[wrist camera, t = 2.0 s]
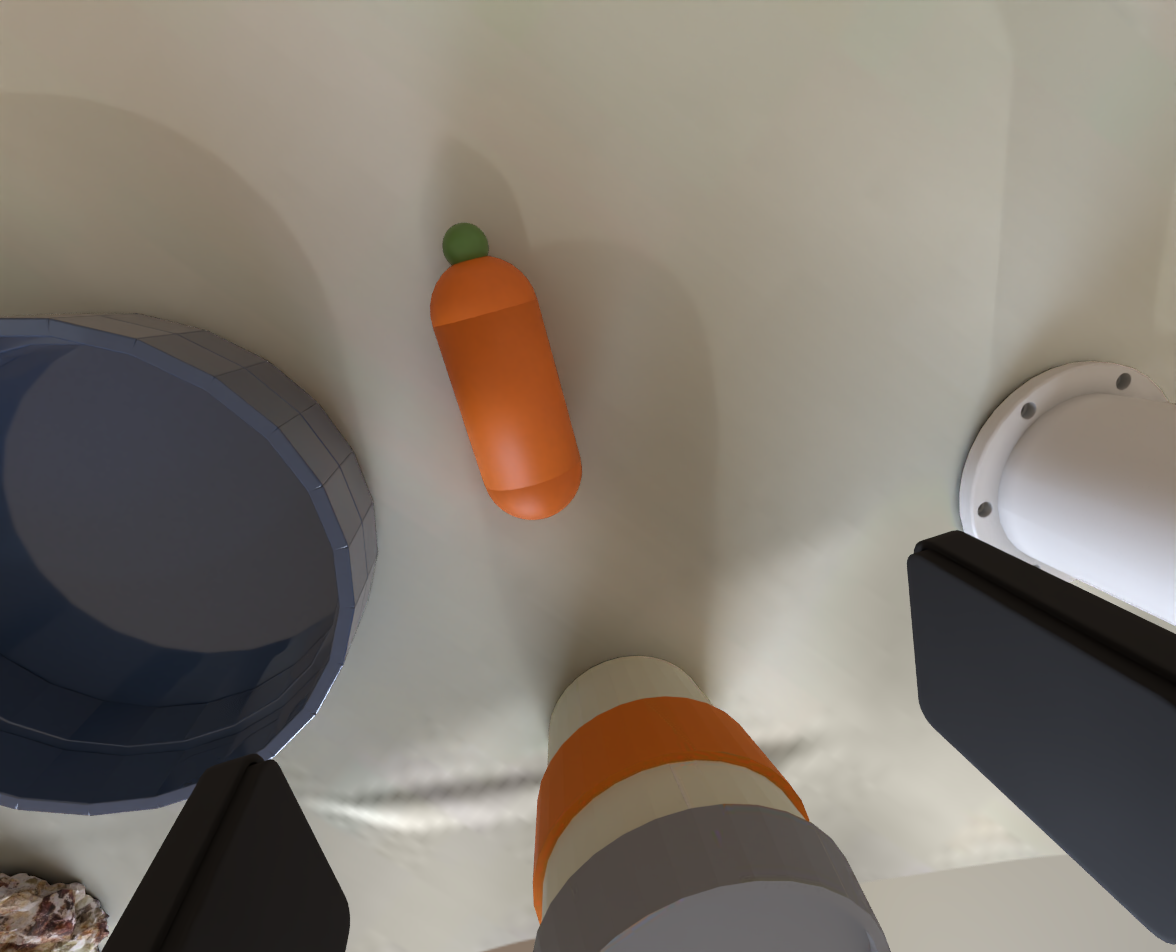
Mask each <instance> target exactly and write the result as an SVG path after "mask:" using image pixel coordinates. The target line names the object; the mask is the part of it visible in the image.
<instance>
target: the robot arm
mask: <svg viewBox="0 0 1176 952" xmlns="http://www.w3.org/2000/svg"><path fill="white" fill-rule="evenodd" d="M959 505H960V517H961V521H962V526H963V530H964V532H962V531H958V530H956V531H951V532H947V533H944V534H941V535H938V536H935V537H932V538H929V539H925V540H922V541H920V542H918V543H917V544H916V546H915V549H914V554H911V555H910V556H909V557H908V560H907V571H908V583H909V595H910V606H911V618H912V629H913V641H914V652H915V664H916V676H917V687H918V699H919V704H920V707H921V710H922V712H923V714H924V716H925V718H926V719H927V721H928V722H929V723H930V724H931V726H932V727H933V728H934V729H935V730H936V731H937V732H939V733H940V734H941V735H942V736H943V737H944V738H945V739H946V740H947V741H948V742H949V743H950V744H951V745H952V746H953V747H954V748H956V749H957V750H958V751H959V752H960V753H961V754H962V755H963V756H964V757H965V758H966V759H967V760H968V761H969V762H970V763H971V764H973V765H974V766H975V767H976V768H977V769H978V770H979V771H980V772H981V773H982V774H983V775H984V776H985V777H986V778H987V779H989V780H990V781H991V782H992V783H993V784H994V785H995V786H996V787H997V788H998V789H999V790H1000V791H1001V792H1002V793H1003V794H1004V795H1006V796H1007V797H1008V798H1009V799H1010V800H1011V801H1012V802H1013V803H1014V804H1015V805H1016V806H1017V807H1018V808H1019V809H1020V810H1021V811H1023V812H1024V813H1025V814H1026V815H1027V816H1028V817H1029V818H1030V819H1031V820H1032V821H1033V822H1034V823H1035V824H1036V825H1037V826H1039V827H1040V828H1041V829H1042V830H1043V831H1044V832H1045V833H1046V834H1047V835H1048V836H1049V837H1050V838H1051V839H1052V840H1053V841H1054V842H1056V843H1057V844H1058V845H1059V846H1060V847H1061V848H1062V849H1063V850H1064V851H1065V852H1066V853H1067V854H1068V855H1069V856H1070V857H1071V858H1073V859H1074V860H1075V861H1076V862H1077V863H1078V864H1079V865H1080V866H1081V867H1082V868H1083V869H1084V870H1085V871H1086V872H1087V873H1088V874H1090V875H1091V876H1092V877H1093V878H1094V879H1095V880H1096V881H1097V882H1098V883H1099V884H1100V885H1101V886H1102V887H1103V888H1105V889H1106V890H1107V891H1108V892H1109V893H1110V894H1111V895H1112V896H1113V897H1114V898H1115V899H1116V900H1117V901H1119V903H1121V905H1123V906H1124V907H1125V908H1126V909H1127V910H1128V911H1129V912H1130V913H1131V914H1132V915H1133V916H1134V917H1135V918H1136V919H1138V920H1139V921H1140V922H1141V923H1142V924H1143V925H1144V926H1145V927H1146V928H1147V929H1148V930H1149V931H1150V932H1152V933H1153V934H1154V935H1155V936H1157V937H1158V938H1160V939H1161V940H1163V941H1165V942H1166V943H1170V944H1176V634H1174V633H1172V632H1170V631H1168V630H1166V629H1164V628H1162V627H1160V626H1158V625H1156V624H1153V623H1151V622H1149V621H1147V620H1145V619H1143V618H1141V617H1139V616H1137V615H1135V614H1133V613H1131V612H1129V611H1127V610H1124V609H1122V608H1120V607H1118V606H1116V605H1114V604H1112V603H1110V602H1108V601H1106V600H1104V599H1102V598H1100V597H1098V596H1095V595H1093V594H1091V593H1089V592H1087V591H1085V590H1083V589H1081V588H1079V587H1077V586H1075V585H1073V584H1071V583H1068V582H1071V581H1074V580H1077V579H1078V580H1080V581H1082V582H1084V583H1086V584H1088V585H1091V586H1093V587H1095V588H1097V589H1099V590H1101V591H1103V592H1105V593H1107V594H1109V595H1112V596H1114V597H1116V598H1118V599H1120V600H1122V601H1124V602H1126V603H1128V604H1131V605H1133V606H1135V607H1137V608H1139V609H1141V610H1143V611H1145V612H1147V613H1149V614H1152V615H1154V616H1156V617H1158V618H1160V619H1162V620H1164V621H1166V622H1168V623H1170V624H1173V625H1175V626H1176V404H1173V403H1169V402H1168V400H1167V398H1166V397H1165V395H1164V393H1163V391H1162V390H1161V389H1160V388H1159V387H1158V386H1157V385H1156V384H1155V383H1154V382H1153V381H1152V380H1151V379H1150V378H1149V377H1148V376H1146V375H1145V374H1143V373H1141V372H1139V371H1138V370H1136V369H1134V368H1131V367H1128V366H1124V365H1120V364H1116V363H1108V362H1097V361H1085V362H1074V363H1068V364H1065V365H1062V366H1059V367H1055V368H1052V369H1049V370H1047V371H1045V372H1043V373H1042V374H1040V375H1038V376H1036V377H1034V378H1032V379H1030V380H1029V381H1027V382H1026V383H1025V384H1023V385H1022V386H1021V387H1019V388H1018V389H1017V390H1015V391H1014V392H1012V393H1011V394H1010V395H1009V396H1008V397H1007V398H1006V399H1005V400H1004V401H1003V402H1002V403H1001V404H1000V405H999V406H998V407H997V408H996V409H995V411H994V412H993V413H992V415H991V416H990V417H989V419H988V420H987V422H986V423H985V424H984V426H983V427H982V428H981V430H980V432H979V434H978V436H977V438H976V440H975V441H974V443H973V445H972V447H971V449H970V451H969V454H968V457H967V460H966V463H965V466H964V469H963V473H962V479H961V485H960V491H959ZM349 928H350V913H349V907H348V902H347V900H346V897H345V895H344V893H343V891H342V889H341V887H340V885H339V883H338V881H337V879H336V877H335V875H334V873H333V871H332V869H331V867H330V865H329V863H328V861H327V859H326V857H325V855H324V853H323V851H322V849H321V847H320V846H319V844H318V842H317V840H316V838H315V836H314V834H313V832H312V830H311V828H310V826H309V824H308V822H307V820H306V818H305V816H304V814H303V812H302V810H301V808H300V806H299V804H298V802H297V800H296V798H295V796H294V794H293V792H292V790H291V788H290V786H289V784H288V782H287V780H286V778H285V776H284V774H283V772H282V770H281V768H280V767H279V765H278V764H277V762H275V761H274V760H270V759H269V760H266V761H264V759H263V758H262V757H261V756H260V755H258V754H254V753H252V754H249V755H245V756H242V757H239V758H236V759H233V760H230V761H227V762H223V763H220V764H217V765H214V766H211V767H209V768H208V769H206V770H205V772H204V773H203V774H202V775H201V777H200V779H199V781H198V782H197V784H196V786H195V788H194V790H193V791H192V793H191V795H190V797H189V798H188V800H187V802H186V804H185V805H184V807H183V809H182V811H181V812H180V814H179V816H178V818H177V819H176V821H175V823H174V825H173V826H172V828H171V830H170V832H169V834H168V835H167V837H166V839H165V841H164V842H163V844H162V846H161V848H160V849H159V851H158V853H157V855H156V856H155V858H154V860H153V862H152V863H151V865H150V867H149V869H148V871H147V872H146V874H145V876H144V878H143V879H142V881H141V883H140V885H139V886H138V888H137V890H136V892H135V893H134V895H133V897H132V899H131V900H130V902H129V904H128V906H127V908H126V909H125V911H124V913H123V915H122V916H121V918H120V920H119V922H118V923H117V925H116V927H115V929H114V930H113V932H112V934H111V936H110V937H109V939H108V941H107V943H106V944H105V946H104V948H103V950H102V952H345V950H346V945H347V940H348V935H349Z"/></svg>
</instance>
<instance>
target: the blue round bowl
mask: <svg viewBox="0 0 1176 952" xmlns="http://www.w3.org/2000/svg"><path fill="white" fill-rule="evenodd" d="M372 501H373V500H372V498H371V495H370V493H369V490H368V487H367V485H366V482H365V480H364V477H363V475H362V472H361V470H360V467H359V464H358V462H357V459H356V457H355V454H354V452H353V451H352V448H351V447H350V446H349V444H348V443H347V442H346V440H345V439H344V438H343V436H342V435H341V434H340V432H339V431H338V429H337V428H336V427H335V425H334V424H333V423H332V421H331V420H330V419H329V417H328V416H327V414H326V413H325V412H324V410H323V409H322V408H321V406H320V405H319V404H318V403H317V401H316V400H314V399H313V398H312V397H311V396H310V395H308V394H307V393H306V392H305V391H304V390H302V389H301V388H300V387H299V386H298V385H296V384H295V383H294V382H293V381H292V380H290V379H289V378H288V377H287V376H286V375H284V374H283V373H282V372H281V371H280V370H278V369H277V368H276V367H275V366H274V365H272V364H271V363H270V362H267V360H265V359H263V358H261V357H259V356H257V355H255V354H253V353H251V352H249V351H247V350H245V349H243V348H241V347H239V346H237V345H235V344H233V343H231V342H229V341H227V340H225V339H223V338H221V337H219V336H217V335H215V334H214V333H212V332H210V331H206V330H204V329H200V328H196V327H192V326H188V325H184V324H180V323H175V322H171V321H167V320H163V319H159V318H155V317H151V316H147V315H143V314H137V313H62V314H36V315H11V316H0V805H1V806H5V807H8V808H12V809H18V810H27V811H39V812H51V813H64V814H76V815H90V816H93V815H102V814H111V813H120V812H129V811H139V810H148V809H157V808H161V807H164V806H167V805H170V804H174V803H177V802H180V801H183V800H186V799H188V798H189V797H190V795H191V793H192V791H193V790H194V788H195V786H196V784H197V782H198V781H199V779H200V777H201V775H202V774H203V773H204V772H205V770H206V769H208V768H209V767H211V766H214V765H217V764H220V763H223V762H227V761H230V760H233V759H236V758H239V757H242V756H245V755H249V754H252V753H254V754H258V755H260V756H261V757H262V758H263V759H264V761H266V760H269V759H271V758H273V757H274V756H275V755H277V754H278V753H279V752H280V751H281V750H282V749H283V748H284V747H285V746H286V745H287V744H288V743H289V742H290V741H291V740H292V739H293V738H294V736H295V735H296V734H297V733H298V732H299V731H300V730H301V729H302V728H303V727H304V726H305V725H306V724H307V723H308V722H309V721H310V720H311V719H312V718H313V717H314V716H315V715H316V713H318V711H319V709H320V707H321V705H322V704H323V702H324V700H325V698H326V696H327V694H328V693H329V691H330V689H331V687H332V685H333V683H334V682H335V680H336V678H337V676H338V674H339V672H340V671H341V669H342V667H343V665H344V662H345V660H346V657H347V654H348V652H349V649H350V647H351V644H352V641H353V639H354V636H355V634H356V631H357V628H358V626H359V623H360V621H361V618H362V615H363V613H364V610H365V608H366V605H367V602H368V600H369V595H370V590H371V585H372V580H373V575H374V570H375V565H376V560H377V556H378V547H377V536H376V526H375V515H374V504H373V502H372Z"/></svg>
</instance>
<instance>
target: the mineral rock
mask: <svg viewBox="0 0 1176 952" xmlns="http://www.w3.org/2000/svg"><path fill="white" fill-rule="evenodd" d="M108 917H109V916H108V915H107V914H106V913H105V912H104V911H103V909H101V908H100V902H99V900H97V899H93V898H92V897H91V896H90V895H86V893H85V886H84V885H82V884H80V883H77V882H74V883H71V884H64V883H57V884H53V885H49V884H48V883H47V881H45V880H41V879H39V878H37V877H35V876H27V873H19V874H16V875H14V876H12V877H9V876H7V875H5V874H3V873H0V952H99V950H98V948H97V945H98V944H99V943H100V941H101V940H102V939H104V938H105V937H108V934H109V931H108V927H109V926H108V925H107V920H106V919H107V918H108Z"/></svg>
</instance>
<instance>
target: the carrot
mask: <svg viewBox="0 0 1176 952" xmlns="http://www.w3.org/2000/svg"><path fill="white" fill-rule="evenodd" d="M442 247H443V253H444V255H445V257H446V259H447V261H448V262H449V263H450V264H451V265H452V266H451V267H449V268H448V269H447V270H446V271H445V272H444V273H443V274H442V276H441V277H440V279H439V280H438V282H437V283H436V285H435V288H434V291H433V293H432V298H431V303H430V315H431V320H432V325H433V329H434V332H435V335H436V338H437V341H438V344H439V347H440V351H441V354H442V357H443V360H444V363H445V366H446V369H447V372H448V375H449V378H450V381H451V384H452V387H453V390H454V393H455V396H456V399H457V402H458V405H459V408H460V411H461V415H462V418H463V421H464V424H465V427H466V430H467V433H468V436H469V439H470V442H471V445H472V448H473V451H474V454H475V457H476V460H477V463H478V466H479V469H480V472H481V476H482V479H483V482H484V485H485V487H486V489H487V491H488V494H489V496H490V497H491V499H492V500H493V501H494V503H495V504H496V505H497V506H499V507H500V508H501V509H502V510H503V511H505V512H507V513H508V514H510V515H512V516H515V517H518V518H521V519H528V520H538V519H544V518H547V517H550V516H553V515H555V514H557V513H558V512H560V511H561V510H562V509H564V508H565V507H566V506H567V505H568V504H569V503H570V501H571V500H572V499H573V498H574V496H575V494H576V492H577V490H578V488H579V485H580V481H581V477H582V466H581V460H580V455H579V451H578V447H577V444H576V440H575V436H574V432H573V429H572V425H571V421H570V418H569V414H568V410H567V407H566V403H565V399H564V396H563V392H562V388H561V385H560V381H559V377H558V374H557V370H556V366H555V363H554V359H553V355H552V352H551V348H550V344H549V341H548V337H547V333H546V330H545V326H544V322H543V319H542V315H541V311H540V308H539V304H538V300H537V297H536V295H535V292H534V289H533V287H532V286H531V284H530V282H529V281H528V279H527V278H526V277H525V276H524V275H523V274H522V272H521V271H520V270H518V269H517V268H516V267H514V266H513V265H512V264H510V263H508V262H506V261H504V260H502V259H499V258H495V257H491V256H488V251H489V246H488V241H487V238H486V236H485V235H484V233H483V232H482V231H481V230H480V229H479V228H478V227H477V226H475V225H473V224H470V223H458V224H455V225H453V226H452V227H450V228H449V229H448V231H447V232H446V234H445V236H444V238H443V244H442Z"/></svg>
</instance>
